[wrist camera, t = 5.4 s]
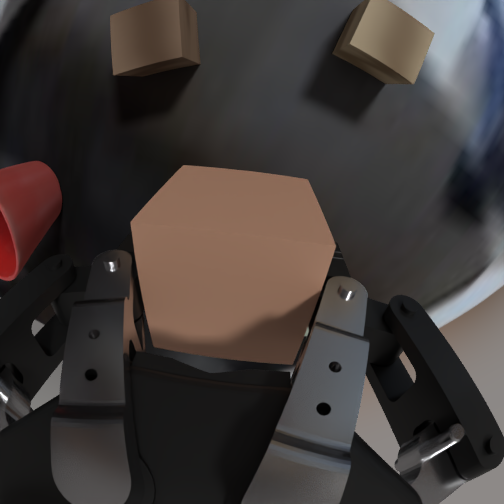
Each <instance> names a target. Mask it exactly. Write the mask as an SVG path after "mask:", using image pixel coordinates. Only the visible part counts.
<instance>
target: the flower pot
mask: <svg viewBox="0 0 504 504" xmlns="http://www.w3.org/2000/svg"><path fill="white" fill-rule="evenodd" d="M61 207H62V193H61V190H60V185H59V182H58V179H57V177H56V175H55V174H54V172H53V171H52V170H51V168H50V167H48V166H47V165H46V164H44V163H42V162H40V161H32V162H27V163H22V164H18V165H14V166H10V167H7V168H3V169H0V279H2V280H6V281H11V280H13V279H15V278H16V277H17V275H18V274H19V273H20V271H21V270H22V268H23V267H24V265H25V264H26V262H27V260H28V259H29V257H30V256H31V254H32V253H33V251H34V250H35V248H36V247H37V245H38V244H39V243H40V241H41V240H42V238H43V237H44V235H45V234H46V232H47V231H48V230H49V228H50V227H51V225H52V224H53V222H54V221H55V220H56V218H57V217H58V215H59V214H60V211H61Z"/></svg>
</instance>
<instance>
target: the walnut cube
mask: <svg viewBox="0 0 504 504" xmlns="http://www.w3.org/2000/svg"><path fill="white" fill-rule="evenodd" d="M110 26H111V50H112V64H113V75H117V76H141V77H143V76H147V75H151V74H155V73H159V72H163V71H168V70H173V69H177V68H182V67H188V66H193V65H199V64H200V54H199V42H198V28H197V14H196V11H195V10H194V9H193V8H192V7H191V6H190V5H189V4H188V3H187V2H186V1H185V0H154V1H150V2H147V3H144V4H141V5H138V6H135V7H132V8H129V9H127V10H124V11H121V12H119V13H116V14H114V15H111V16H110Z"/></svg>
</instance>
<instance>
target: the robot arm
mask: <svg viewBox="0 0 504 504" xmlns="http://www.w3.org/2000/svg"><path fill="white" fill-rule="evenodd" d="M334 242H335V241H334ZM335 245H336V248H335V251H334V254H333V257H332V260H331V264H330V267H329V270H328V273H327V275H326V278H325V281H324V284H323V287H322V290H321V293H320V295H319V298H318V301H317V304H316V306H315V309H314V312H313V314H312V317H311V320H310V322H309V325H308V328H309V332H308V335H307V337H306V340H305V343H304V345H303V348H302V351H301V353H300V356H299V359H298V362H297V364H296V367H295V369H294V372H293V374H292V377H291V379H290V372H282V371H266V370H254V369H250V370H242V371H232V372H222V373H208V372H204V371H202V370H199V369H197V368H194V367H192V366H189V365H187V364H184V363H182V362H179V361H177V360H175V359H172V358H168V357H162V356H157V355H152V354H148V353H146V350H145V334H144V317H143V310H144V303H143V298H142V293H141V288H140V283H139V277H138V271H137V265H136V259H135V252H134V245H133V237H132V231H131V232H130V234H129V235H128V236H127V237H126V238H125V240H124V241H123V242H122V244H121V245H120V246H119V248H118V249H117V250H110V251H106V252H104V253H102V254H100V255H98V256H97V257H96V258H95V259H94V261H93V263H92V266H81V267H74V265H73V261H72V259H71V257H70V256H68V255H65V254H58V255H54V256H51V257H49V258H47V259H46V260H44V261H43V262H42V263H41V264H39V265H38V266H37V267H36V268H35V269H33V270H32V271H31V272H30V273H29V274H27V275H26V276H25V277H24V278H23V279H22V280H21V281H19V282H18V283H17V284H16V285H15V286H14V287H13V288H12V289H10V290H9V291H8V292H7V293H6V294H5V295H4V296H3V297H2V298H1V299H0V504H439V503H440V502H441V501H443V500H444V499H445V498H446V497H448V496H449V495H450V494H452V493H453V492H454V491H455V490H456V489H458V488H459V487H460V486H461V485H462V484H463V483H465V482H468V481H470V480H472V479H474V478H476V477H478V476H480V475H482V474H484V473H486V472H488V471H490V470H492V469H494V468H496V467H497V466H498V465H499V464H500V463H501V462H502V459H503V457H504V437H503V435H502V432H501V430H500V428H499V426H498V424H497V422H496V420H495V418H494V417H493V415H492V413H491V411H490V409H489V407H488V406H487V404H486V402H485V400H484V398H483V397H482V395H481V393H480V391H479V390H478V388H477V386H476V385H475V383H474V382H473V380H472V378H471V377H470V375H469V373H468V372H467V370H466V369H465V367H464V365H463V364H462V362H461V361H460V359H459V358H458V356H457V355H456V353H455V352H454V351H453V349H452V347H451V346H450V344H449V343H448V342H447V340H446V339H445V337H444V336H443V335H442V333H441V332H440V331H439V329H438V328H437V326H436V325H435V323H434V322H433V321H432V319H431V318H430V317H429V315H428V314H427V313H426V312H425V310H424V309H423V308H422V306H421V305H420V304H419V303H418V302H417V301H415V300H414V299H412V298H410V297H408V296H404V295H397V296H394V297H393V298H392V299H391V300H390V302H389V304H384V303H381V302H378V301H375V300H372V299H370V298H368V297H367V291H366V289H365V288H364V286H363V285H362V284H360V283H359V282H358V281H356V280H354V279H352V278H351V277H350V274H349V271H348V269H347V266H346V264H345V261H344V259H343V256H342V253H341V251H340V248H339V246H338V244H337V243H336V242H335ZM50 303H51V305H52V307H53V309H54V311H55V313H56V314H55V315H54V316H53V317H52V318H51V319H50V320H49V321H48V322H47V323H46V324H45V325H44V327H43V328H42V329H41V330H40V331H39V332H38V333H37V334H36V335H35V336H34V335H33V334H32V330H31V327H32V323H33V321H34V320H35V318H36V317H37V316H38V315H39V314H40V313H41V312H42V311H43V310H44V309H45V308H46V307H47V306H48V305H49V304H50ZM403 351H404V352H405V354H406V355H407V357H408V359H409V360H410V362H411V364H412V365H413V367H414V369H415V371H416V380H415V383H414V382H413V381H412V379H411V377H410V375H409V374H408V372H407V370H406V368H405V367H404V365H403V363H402V361H401V360H400V358H399V356H400V354H401V353H402V352H403ZM62 360H63V364H62V373H61V383H60V394H59V395H58V396H56V397H55V398H53V399H51V400H50V401H48V402H47V403H45V404H43V405H42V406H40V407H39V408H37V409H35V410H34V411H33V409H32V408H31V407H30V405H31V400H32V399H33V397H34V396H35V395H36V393H37V392H38V391H39V389H40V388H41V387H42V385H43V384H44V383H45V381H46V380H47V379H48V378H49V376H50V375H51V374H52V372H53V371H54V370H55V369H56V368H57V366H58V365H59V364H60V362H61V361H62ZM365 374H366V376H367V378H368V380H369V382H370V384H371V386H372V388H373V390H374V392H375V394H376V397H377V398H378V401H379V403H380V405H381V407H382V409H383V411H384V413H385V415H386V417H387V420H388V422H389V424H390V426H391V428H392V431H393V433H394V435H395V437H396V439H397V441H398V444H399V446H400V450H399V453H398V459H397V460H396V461H395V468H396V470H397V471H399V472H400V475H399V474H398V473H397V472H396V471H395V470H393V468H391V467H390V466H389V465H388V464H387V463H386V462H385V461H384V460H383V459H382V458H381V457H380V456H379V455H378V454H377V453H376V452H375V451H374V450H373V449H372V448H371V447H370V446H368V444H367V443H366V442H365V441H364V440H363V439H362V438H361V437H359V435H358V434H357V433H356V432H355V431H354V430H355V427H356V422H357V418H358V413H359V408H360V403H361V398H362V391H363V386H364V380H365Z"/></svg>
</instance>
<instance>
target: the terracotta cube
mask: <svg viewBox="0 0 504 504" xmlns="http://www.w3.org/2000/svg"><path fill="white" fill-rule="evenodd" d="M131 229H132V237H133V245H134V252H135V259H136V265H137V271H138V277H139V283H140V288H141V293H142V298H143V303H144V308H145V313H146V317H147V322H148V326H149V330H150V334H151V338H152V342H153V346H154V347H156V348H162V349H167V350H172V351H178V352H183V353H190V354H196V355H202V356H209V357H217V358H224V359H233V360H242V361H251V362H263V363H276V364H293V362H294V360H295V357H296V355H297V352H298V350H299V348H300V345H301V343H302V340H303V338H304V335H305V333H306V330H307V328H308V325H309V322H310V320H311V317H312V314H313V312H314V309H315V306H316V304H317V301H318V298H319V295H320V293H321V290H322V287H323V284H324V281H325V278H326V275H327V273H328V270H329V267H330V264H331V260H332V257H333V254H334V251H335V248H336V245H335V242H334V240H333V237H332V235H331V232H330V230H329V227H328V225H327V222H326V220H325V218H324V215H323V213H322V211H321V208H320V206H319V204H318V201H317V199H316V197H315V194H314V192H313V190H312V188H311V186H310V183H309V181H308V179H302V178H295V177H289V176H282V175H275V174H267V173H259V172H251V171H242V170H233V169H223V168H212V167H200V166H186V165H183V166H182V167H181V168H180V169H179V170H178V171H177V172H176V173H175V174H174V175H173V176H172V177H171V178H170V179H169V181H168V182H167V183H166V184H165V185H164V186H163V187H162V188H161V189H160V190H159V191H158V192H157V193H156V194H155V195H154V196H153V197H152V199H151V200H150V201H149V202H148V203H147V204H146V205H145V206H144V207H143V208H142V210H141V211H140V212H139V213H138V214H137V215H136V216H135V218H134V219H133V220H132V221H131Z"/></svg>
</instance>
